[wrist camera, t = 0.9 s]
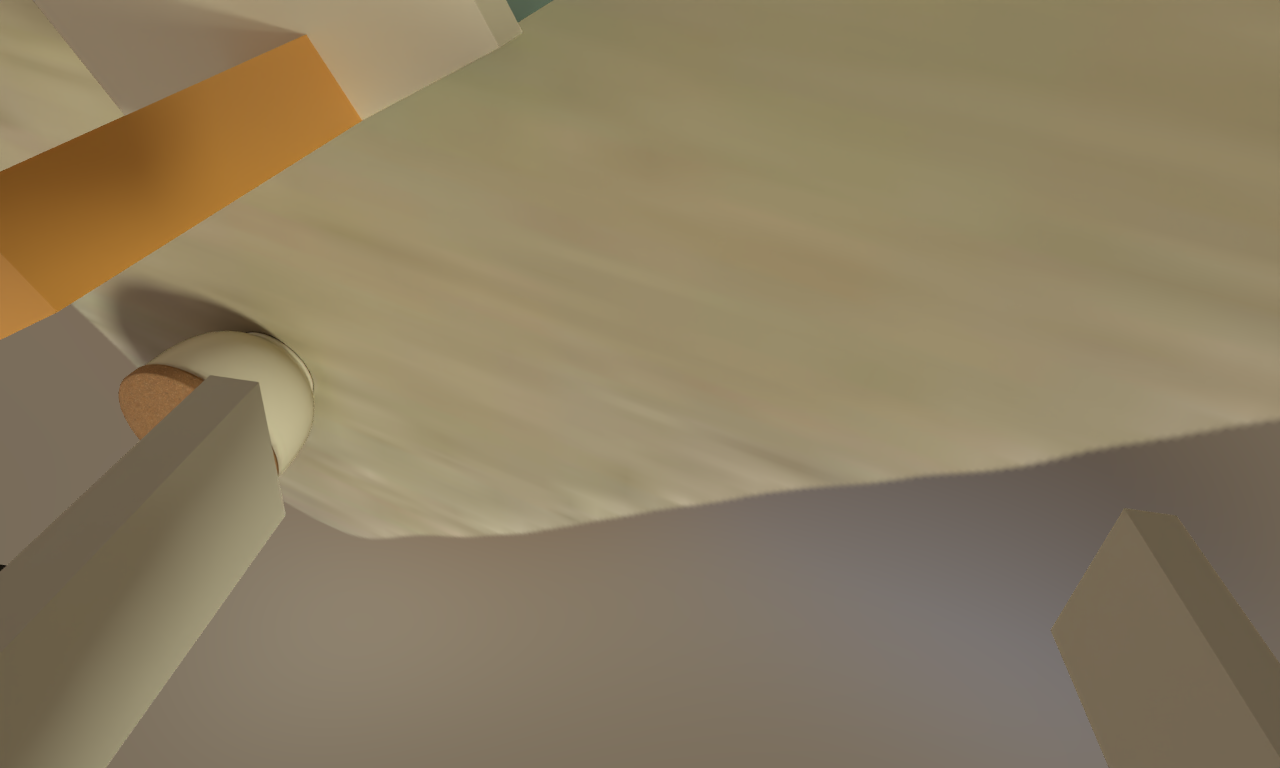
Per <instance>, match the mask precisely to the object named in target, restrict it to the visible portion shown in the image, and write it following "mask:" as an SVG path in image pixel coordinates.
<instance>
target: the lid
mask: <svg viewBox="0 0 1280 768" xmlns="http://www.w3.org/2000/svg"><path fill="white" fill-rule="evenodd" d="M33 1H34V3H35V4H36V5H37V6H38V8H39V9H40V10H41V11H42V13H43V14H44V15H45V16H46V18H47V19H48V20H49V21H50V23H51V24H52V25H53V26H54V28H55V29H56V30H57V31H58V33H59V34H60V35H61V36H62V38H63V39H64V40H65V41H66V43H67V44H68V45H69V46H70V48H71V49H72V50H73V51H74V53H75V54H76V55H77V56H78V58H79V59H80V60H81V61H82V63H83V64H84V65H85V66H86V68H87V69H88V70H89V71H90V73H91V74H92V75H93V76H94V78H95V79H96V80H97V81H98V83H99V84H100V85H101V86H102V88H103V89H104V90H105V91H106V93H107V94H108V95H109V96H110V98H111V99H112V100H113V101H114V103H115V104H116V105H117V106H118V108H119V109H120V110H121V111H122V113H123V114H124V115H125V116H123V117H121V118H119V119H117V120H114V121H112V122H110V123H108V124H106V125H103V126H101V127H99V128H97V129H94V130H92V131H90V132H88V133H85V134H83V135H81V136H79V137H77V138H74V139H72V140H70V141H68V142H65V143H63V144H61V145H59V146H57V147H54V148H52V149H50V150H48V151H45V152H43V153H41V154H39V155H37V156H34V157H32V158H30V159H28V160H25V161H23V162H21V163H19V164H17V165H14V166H12V167H10V168H8V169H5V170H3V171H1V172H0V340H1V339H3V338H5V337H7V336H9V335H11V334H13V333H15V332H17V331H19V330H21V329H24V328H25V327H27V326H30V325H32V324H34V323H36V322H38V321H40V320H42V319H44V318H46V317H48V316H50V315H52V314H54V313H56V312H58V311H60V310H61V309H63V308H65V307H66V306H68V305H69V304H71V303H73V302H74V301H76V300H77V299H79V298H81V297H82V296H84V295H85V294H87V293H88V292H90V291H92V290H93V289H95V288H96V287H98V286H100V285H101V284H103V283H104V282H106V281H108V280H109V279H111V278H112V277H114V276H116V275H117V274H119V273H120V272H122V271H124V270H125V269H127V268H128V267H130V266H131V265H133V264H135V263H136V262H138V261H139V260H141V259H143V258H144V257H146V256H147V255H149V254H151V253H152V252H154V251H155V250H157V249H159V248H160V247H162V246H163V245H165V244H166V243H168V242H170V241H171V240H173V239H174V238H176V237H178V236H179V235H181V234H182V233H184V232H186V231H187V230H189V229H190V228H192V227H194V226H195V225H197V224H198V223H200V222H201V221H203V220H205V219H206V218H208V217H209V216H211V215H213V214H214V213H216V212H217V211H219V210H221V209H222V208H224V207H225V206H227V205H229V204H230V203H232V202H233V201H235V200H236V199H238V198H240V197H241V196H243V195H244V194H246V193H248V192H249V191H251V190H252V189H254V188H256V187H257V186H259V185H260V184H262V183H264V182H265V181H267V180H268V179H270V178H271V177H273V176H275V175H276V174H278V173H279V172H281V171H283V170H284V169H286V168H287V167H289V166H291V165H292V164H294V163H295V162H297V161H299V160H300V159H302V158H303V157H305V156H306V155H308V154H310V153H311V152H313V151H314V150H316V149H318V148H319V147H321V146H322V145H324V144H326V143H327V142H329V141H330V140H332V139H334V138H335V137H337V136H338V135H340V134H341V133H343V132H345V131H346V130H348V129H349V128H351V127H353V126H354V125H356V124H357V123H359V122H361V121H362V120H364V119H366V118H368V117H370V116H372V115H373V114H375V113H377V112H379V111H381V110H383V109H385V108H387V107H389V106H390V105H392V104H394V103H396V102H398V101H400V100H402V99H404V98H406V97H407V96H409V95H411V94H413V93H415V92H417V91H419V90H421V89H422V88H424V87H426V86H428V85H430V84H432V83H434V82H436V81H438V80H439V79H441V78H443V77H445V76H447V75H449V74H451V73H453V72H455V71H456V70H458V69H460V68H462V67H464V66H466V65H468V64H470V63H471V62H473V61H475V60H477V59H479V58H481V57H483V56H485V55H487V54H488V53H490V52H492V51H494V50H496V49H498V48H500V47H501V46H503V45H504V44H506V43H507V42H509V41H510V40H512V39H513V38H515V37H517V36H518V35H520V34H521V33H523V32H522V30H521V28H520V26H519V24H518V22H517V20H516V18H515V16H514V14H513V12H512V11H511V9H510V7H509V5H508V3H507V1H506V0H33Z"/></svg>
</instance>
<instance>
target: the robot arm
mask: <svg viewBox="0 0 1280 768" xmlns="http://www.w3.org/2000/svg"><path fill="white" fill-rule="evenodd" d="M285 515H286V514H285V509H284V504H283V499H282V494H281V489H280V484H279V479H278V474H277V469H276V464H275V459H274V454H273V450H272V445H271V440H270V435H269V430H268V425H267V420H266V415H265V410H264V405H263V400H262V395H261V390H260V385H259V382H255V381H248V380H241V379H234V378H227V377H220V376H214V375H210V376H208V377H207V378H206V379H205V380H204V381H203V382H202V383H201V384H200V385H199V386H198V387H197V388H196V389H195V390H194V391H192V392H191V393H190V394H189V395H188V396H187V397H186V398H185V399H184V400H183V401H182V402H181V403H180V404H179V405H178V406H176V407H175V408H174V409H173V410H172V411H171V412H170V413H169V414H168V415H167V416H166V417H165V418H164V419H163V420H161V421H160V422H159V423H158V424H157V425H156V426H155V427H154V428H153V429H152V430H151V431H150V432H149V433H148V434H147V435H145V436H144V437H143V438H142V439H141V440H140V441H139V442H138V443H137V444H136V445H135V446H134V447H133V448H132V449H131V450H129V452H127V454H125V455H124V456H123V457H122V458H121V459H120V460H119V461H118V462H117V463H116V464H115V465H114V466H112V467H111V468H110V469H109V470H108V471H107V472H106V473H105V474H104V475H103V476H102V477H101V478H100V479H99V480H98V481H97V482H95V483H94V484H93V485H92V486H91V487H90V488H89V489H88V490H87V491H86V492H85V493H84V494H83V495H82V496H80V497H79V498H78V499H77V500H76V501H75V502H74V503H73V504H72V505H71V506H70V507H69V508H68V509H67V510H65V511H64V513H62V514H61V515H60V516H59V517H58V518H57V519H56V520H55V521H54V522H53V523H52V524H51V525H50V526H49V527H48V528H46V529H45V530H44V531H43V532H42V533H41V534H40V535H39V536H38V537H37V538H36V539H34V540H33V541H32V542H31V543H30V544H29V545H28V546H27V547H26V548H25V549H24V550H23V551H22V552H21V553H20V554H19V555H18V556H16V557H15V558H14V559H13V560H12V561H11V562H10V563H9V564H8V565H7V566H6V565H0V768H106V767H107V766H108V764H109V763H110V761H111V760H112V759H113V757H114V756H115V754H116V753H117V751H118V750H119V749H120V747H121V746H122V744H123V743H124V742H125V740H126V739H127V737H128V736H129V735H130V733H131V732H132V730H133V729H134V728H135V726H136V725H137V723H138V722H139V721H140V719H141V717H142V716H143V715H144V713H145V712H146V711H147V709H148V708H149V706H150V705H151V704H152V702H153V701H154V699H155V698H156V697H157V695H158V694H159V692H160V691H161V690H162V688H163V687H164V685H165V684H166V682H167V681H168V680H169V678H170V677H171V676H172V674H173V673H174V671H175V670H176V668H177V667H178V666H179V664H180V663H181V661H182V660H183V659H184V657H185V656H186V654H187V653H188V651H189V650H190V649H191V647H192V646H193V644H194V643H195V642H196V640H197V639H198V638H199V636H200V635H201V633H202V632H203V631H204V629H205V627H206V626H207V625H208V623H209V622H210V621H211V619H212V618H213V616H214V615H215V614H216V612H217V611H218V609H219V608H220V607H221V605H222V604H223V602H224V601H225V600H226V598H227V597H228V595H229V594H230V593H231V591H232V590H233V588H234V587H235V586H236V584H237V583H238V581H239V580H240V578H241V577H242V576H243V574H244V573H245V571H246V570H247V569H248V567H249V566H250V564H251V563H252V562H253V560H254V559H255V557H256V556H257V554H258V553H259V552H260V550H261V549H262V548H263V546H264V545H265V543H266V542H267V541H268V539H269V538H270V536H271V535H272V533H273V532H274V531H275V529H276V528H277V526H278V525H279V524H280V522H281V521H282V519H283V518H284V517H285ZM1051 632H1052V634H1053V637H1054V639H1055V642H1056V644H1057V646H1058V649H1059V651H1060V653H1061V656H1062V658H1063V660H1064V663H1065V665H1066V667H1067V670H1068V672H1069V675H1070V677H1071V679H1072V682H1073V684H1074V686H1075V689H1076V691H1077V694H1078V696H1079V698H1080V701H1081V703H1082V705H1083V707H1084V710H1085V712H1086V715H1087V717H1088V720H1089V722H1090V724H1091V727H1092V729H1093V731H1094V733H1095V736H1096V738H1097V741H1098V743H1099V746H1100V748H1101V750H1102V753H1103V755H1104V757H1105V760H1106V762H1107V764H1108V767H1109V768H1280V663H1279V662H1278V660H1277V659H1276V657H1275V656H1274V655H1273V653H1272V652H1271V651H1270V649H1269V647H1268V646H1267V644H1266V643H1265V642H1264V640H1263V639H1262V637H1261V636H1260V634H1259V633H1258V632H1257V630H1256V629H1255V628H1254V626H1253V625H1252V623H1251V622H1250V620H1249V619H1248V617H1247V616H1246V614H1245V613H1244V612H1243V610H1242V609H1241V607H1240V606H1239V604H1238V603H1237V602H1236V600H1235V599H1234V597H1233V596H1232V594H1231V593H1230V592H1229V590H1228V589H1227V587H1226V586H1225V585H1224V583H1223V582H1222V580H1221V579H1220V577H1219V576H1218V574H1217V573H1216V571H1215V570H1214V569H1213V567H1212V566H1211V564H1210V563H1209V561H1208V560H1207V559H1206V557H1205V556H1204V554H1203V553H1202V552H1201V550H1200V549H1199V547H1198V546H1197V545H1196V543H1195V541H1194V540H1193V539H1192V537H1191V536H1190V534H1189V533H1188V531H1187V530H1186V529H1185V527H1184V526H1183V524H1182V523H1181V522H1180V520H1179V519H1178V517H1177V516H1174V515H1168V514H1160V513H1154V512H1147V511H1140V510H1133V509H1126V508H1124V510H1123V511H1122V513H1121V514H1120V516H1119V518H1118V520H1117V521H1116V523H1115V524H1114V526H1113V528H1112V529H1111V531H1110V533H1109V534H1108V536H1107V538H1106V539H1105V541H1104V543H1103V544H1102V546H1101V548H1100V549H1099V551H1098V553H1097V554H1096V556H1095V558H1094V559H1093V561H1092V563H1091V564H1090V566H1089V567H1088V569H1087V571H1086V572H1085V574H1084V576H1083V577H1082V579H1081V581H1080V582H1079V584H1078V586H1077V587H1076V589H1075V591H1074V592H1073V594H1072V596H1071V597H1070V599H1069V601H1068V602H1067V604H1066V606H1065V607H1064V609H1063V611H1062V612H1061V614H1060V616H1059V617H1058V619H1057V621H1056V622H1055V624H1054V626H1053V627H1052V629H1051Z"/></svg>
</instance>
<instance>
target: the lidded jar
mask: <svg viewBox="0 0 1280 768" xmlns="http://www.w3.org/2000/svg"><path fill="white" fill-rule="evenodd" d="M210 375H214V376H220V377H227V378H234V379H241V380H248V381H255V382H259V385H260V390H261V395H262V400H263V405H264V410H265V415H266V420H267V425H268V430H269V435H270V440H271V445H272V450H273V454H274V459H275V464H276V469H277V474H278V477H279V476H280V475H281V474H282V473H283V472H284V471H285V470H286V469H287V468H288V466H289V465H290V464H291V463H292V462H293V460H294V459H295V457H296V456H297V454H298V453H299V452H300V450H301V448H302V447H303V445H304V443H305V441H306V440H307V438H308V436H309V433H310V430H311V427H312V423H313V418H314V398H313V390H314V385H313V380H312V377H311V374H310V372H309V370H308V368H307V367H306V365H305V364H304V363H303V361H302V360H301V359H300V358H299V357H298V356H297V354H296V353H295V352H293V351H292V350H291V349H290V348H289V347H288V346H286V345H285V344H283V343H282V342H280V341H279V340H277V339H275V338H273V337H271V336H269V335H266V334H263V333H258V332H248V333H244V332H236V331H217V332H209V333H205V334H201V335H197V336H195V337H192V338H189V339H187V340H185V341H182V342H180V343H178V344H176V345H174V346H173V347H171V348H169V349H167V350H166V351H164V352H163V353H161V354H160V355H158V356H157V357H156V358H154V359H153V360H151V361H150V362H149V363H147V364H146V365H145V366H142V367H139V368H138V369H136V370H135V371H134V372H132V373H131V374H129V375H128V376H127V377H125V378H124V379H123V381H122V383H121V384H120V389H119V402H120V406H121V410H122V412H123V414H124V417H125V419H126V420H127V422H128V424H129V426H130V427H131V429H132V430H133V431H134V433H135V434H136V436H137V437H138V438H139V439H140V440H141V439H142V438H143V437H144V436H145V435H147V434H148V433H149V432H150V431H151V430H152V429H153V428H154V427H155V426H156V425H157V424H158V423H159V422H160V421H161V420H163V419H164V418H165V417H166V416H167V415H168V414H169V413H170V412H171V411H172V410H173V409H174V408H175V407H176V406H178V405H179V404H180V403H181V402H182V401H183V400H184V399H185V398H186V397H187V396H188V395H189V394H190V393H191V392H192V391H194V390H195V389H196V388H197V387H198V386H199V385H200V384H201V383H202V382H203V381H204V380H205V379H206V378H207V377H208V376H210Z"/></svg>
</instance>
